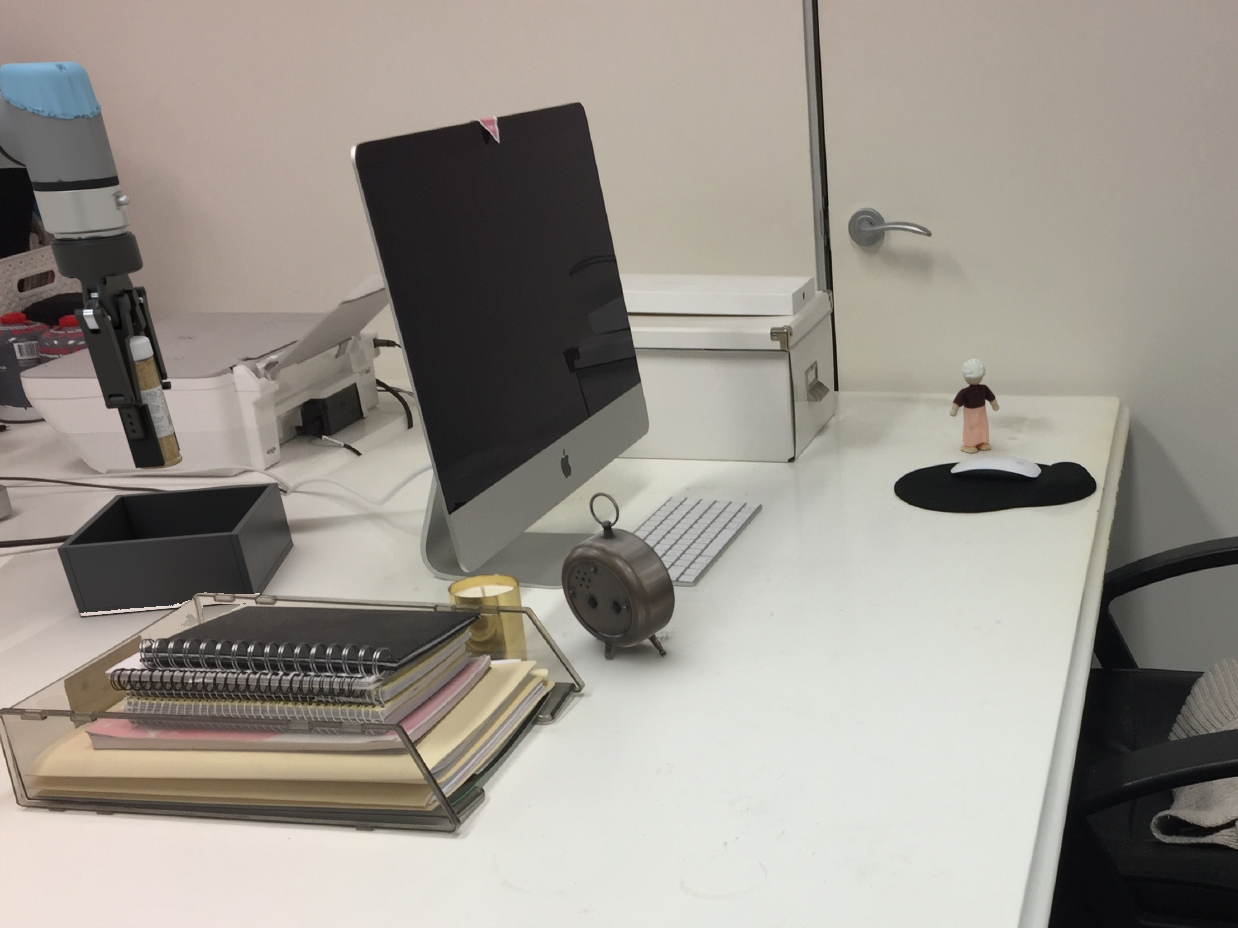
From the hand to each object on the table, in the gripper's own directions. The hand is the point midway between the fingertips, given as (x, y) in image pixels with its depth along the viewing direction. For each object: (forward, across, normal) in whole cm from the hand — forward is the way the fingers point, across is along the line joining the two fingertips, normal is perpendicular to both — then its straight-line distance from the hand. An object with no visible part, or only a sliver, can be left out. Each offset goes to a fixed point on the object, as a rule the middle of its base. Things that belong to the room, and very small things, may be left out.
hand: (158, 458), depth 141 cm
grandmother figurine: (+14, +25, -96) cm, 100 cm away
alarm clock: (+14, -31, -48) cm, 59 cm away
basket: (+14, 0, 0) cm, 14 cm away
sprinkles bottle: (+1, 0, 0) cm, 1 cm away
